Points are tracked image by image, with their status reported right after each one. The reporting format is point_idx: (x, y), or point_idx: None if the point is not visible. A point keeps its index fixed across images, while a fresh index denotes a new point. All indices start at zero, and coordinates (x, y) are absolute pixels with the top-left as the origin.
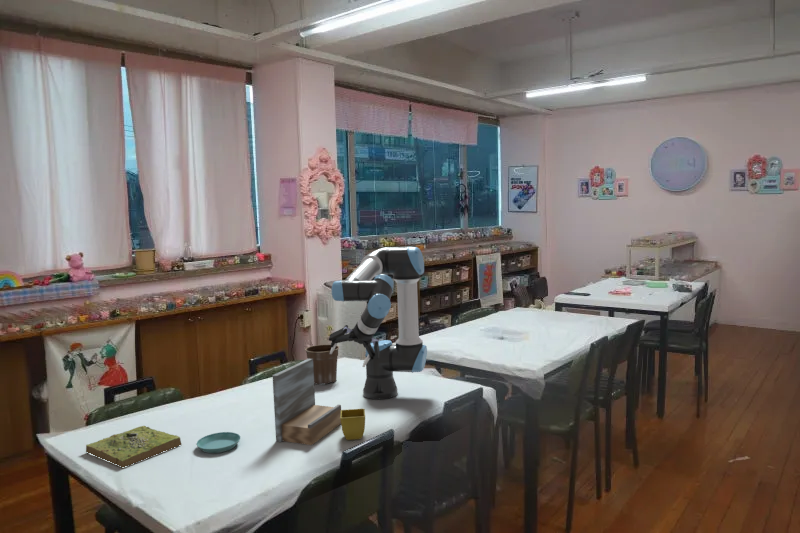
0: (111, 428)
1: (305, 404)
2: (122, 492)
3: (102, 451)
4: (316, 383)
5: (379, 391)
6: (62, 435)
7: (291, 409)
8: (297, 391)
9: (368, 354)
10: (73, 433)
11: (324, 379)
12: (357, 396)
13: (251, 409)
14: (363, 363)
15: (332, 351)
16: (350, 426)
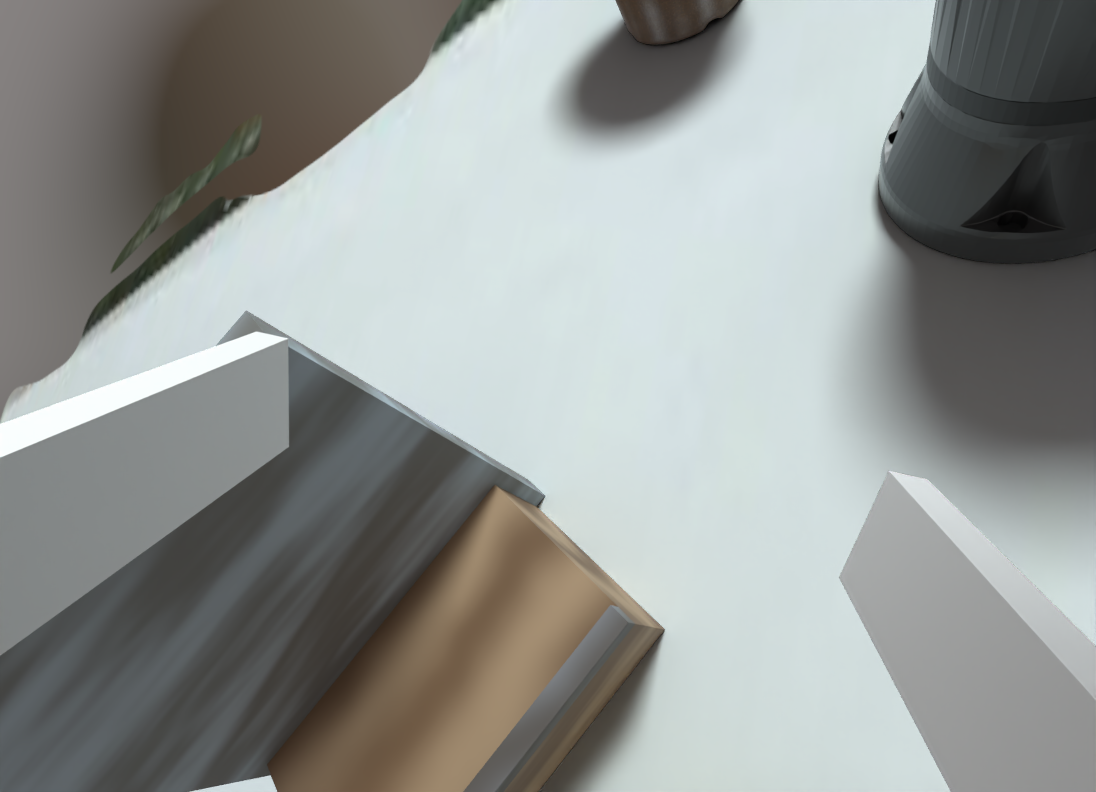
0: (85, 380)
1: (414, 552)
2: None
3: None
4: (644, 42)
5: (1020, 207)
6: (25, 398)
7: (294, 679)
8: (266, 610)
9: (1082, 726)
10: (38, 392)
11: (675, 20)
12: (836, 197)
13: (362, 305)
14: (869, 539)
15: (224, 485)
16: None
